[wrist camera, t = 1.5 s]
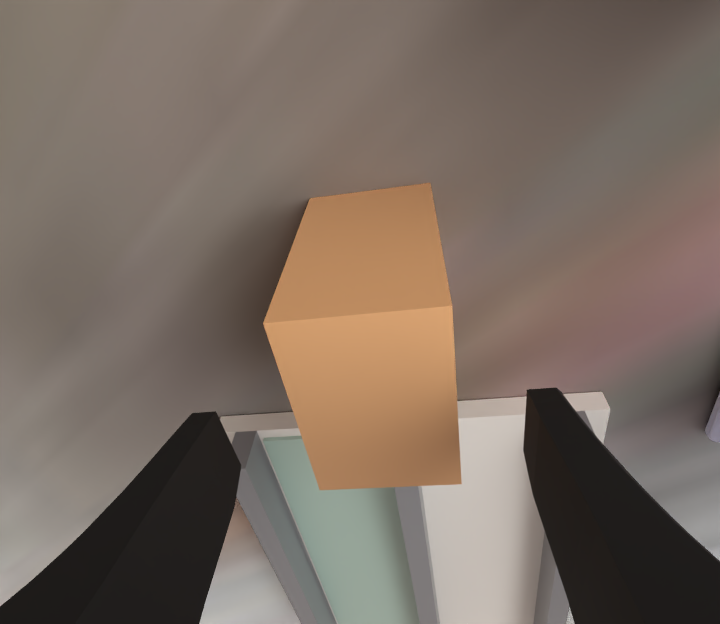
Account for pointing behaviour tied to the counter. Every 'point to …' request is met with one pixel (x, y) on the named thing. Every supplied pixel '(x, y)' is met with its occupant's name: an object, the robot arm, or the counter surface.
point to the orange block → (370, 341)
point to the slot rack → (408, 527)
